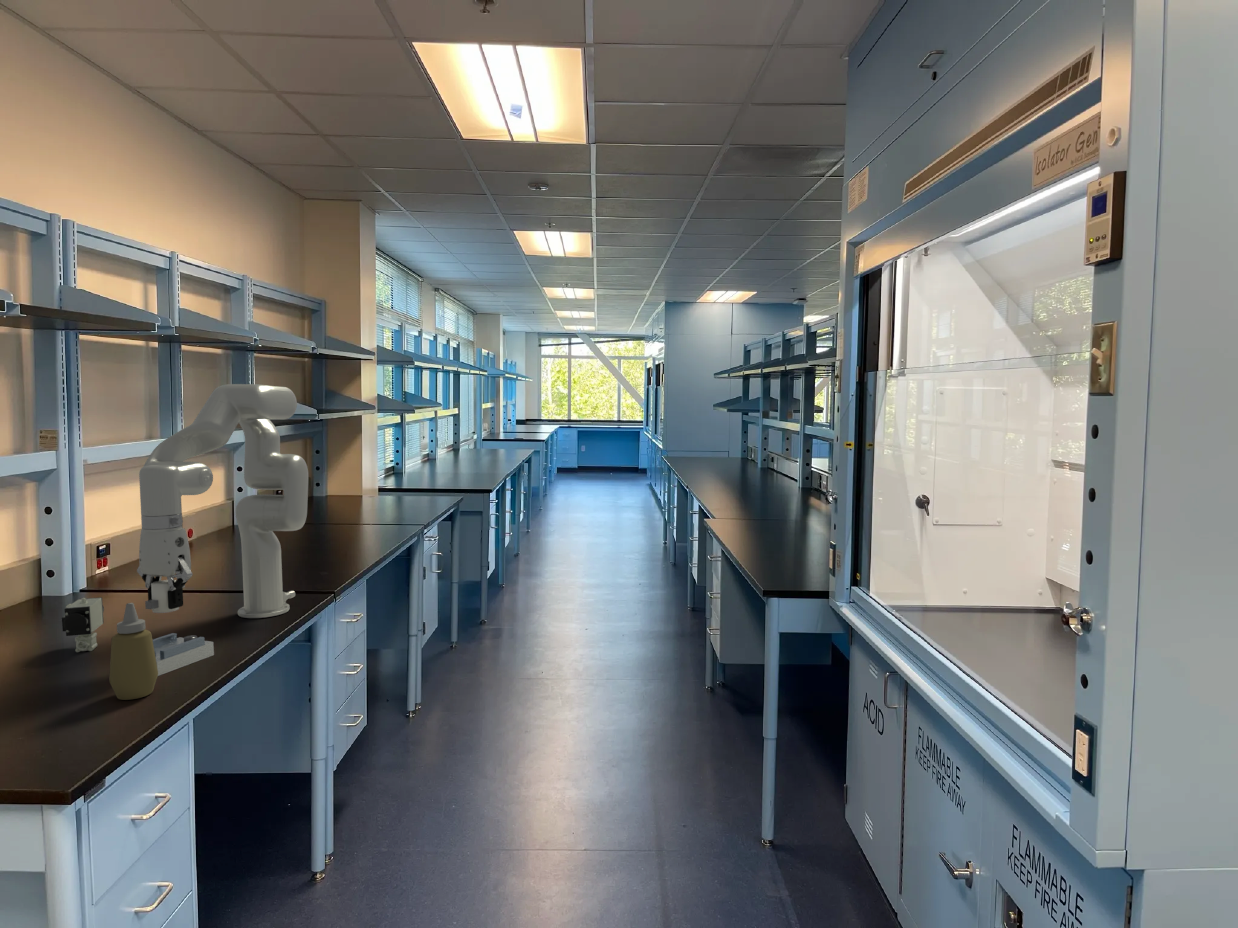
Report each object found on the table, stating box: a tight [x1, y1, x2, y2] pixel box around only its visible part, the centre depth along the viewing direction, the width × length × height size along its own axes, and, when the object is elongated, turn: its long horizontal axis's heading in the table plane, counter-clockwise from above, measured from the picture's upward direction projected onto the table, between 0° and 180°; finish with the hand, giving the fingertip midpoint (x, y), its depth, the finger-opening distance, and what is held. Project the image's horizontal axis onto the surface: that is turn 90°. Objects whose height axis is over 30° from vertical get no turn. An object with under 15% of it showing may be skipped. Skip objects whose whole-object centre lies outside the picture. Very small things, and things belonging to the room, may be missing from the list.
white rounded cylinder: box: [144, 579, 180, 614], centre depth 165 cm, size 7×5×6 cm
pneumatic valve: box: [61, 596, 105, 653], centre depth 176 cm, size 6×12×12 cm, turn 18°
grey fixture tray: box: [152, 632, 215, 677], centre depth 167 cm, size 14×10×5 cm
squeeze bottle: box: [108, 602, 159, 701], centre depth 148 cm, size 8×8×18 cm
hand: (165, 605), depth 166 cm, fingers closed on white rounded cylinder, 5 cm apart
